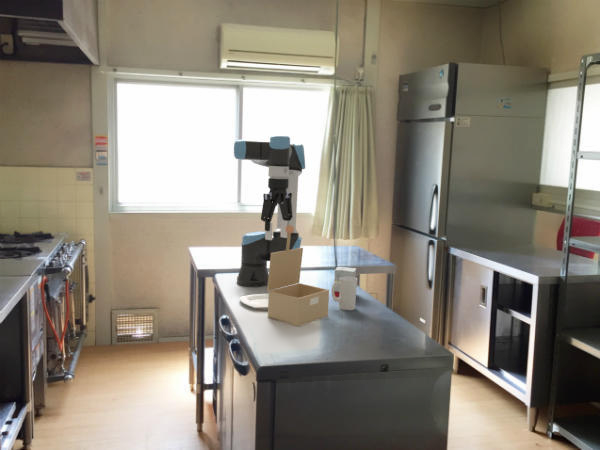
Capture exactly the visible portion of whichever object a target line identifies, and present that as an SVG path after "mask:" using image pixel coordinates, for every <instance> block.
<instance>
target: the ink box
mask: <svg viewBox="0 0 600 450" xmlns="http://www.w3.org/2000/svg"><path fill="white" fill-rule="evenodd" d="M356 276H357V268H356V267H355V268H354V267H347V266H346V267H345V266H337V267H336V268H335V269H334V281H333V283H334V282H335V281H337V282H340V278H341V277H354V278H357V277H356ZM334 294H335V297H336V298H339V294H340V286H339V285H337V286H336V287H335V289H334Z"/></svg>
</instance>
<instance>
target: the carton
mask: <svg viewBox="0 0 600 450" xmlns="http://www.w3.org/2000/svg"><path fill="white" fill-rule="evenodd" d="M268 294H269V298H268V309H267V319H271V320H274V321H277V322H281V323H284V324H287V325H291V326H295V327H300V326H304V325H306V324H308V323H311V322H314V321H318V320H320V319H321V320H322V319H323V318H326V317H328V316H329V304H330V303H329V299H330V290H329V289H326V288H321V287H318V286H314V285H309V284H304V283H301V282H299V283H297V284H293V285H289V286H285V287H281V288H277V289H273V290H270V291H268Z"/></svg>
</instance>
